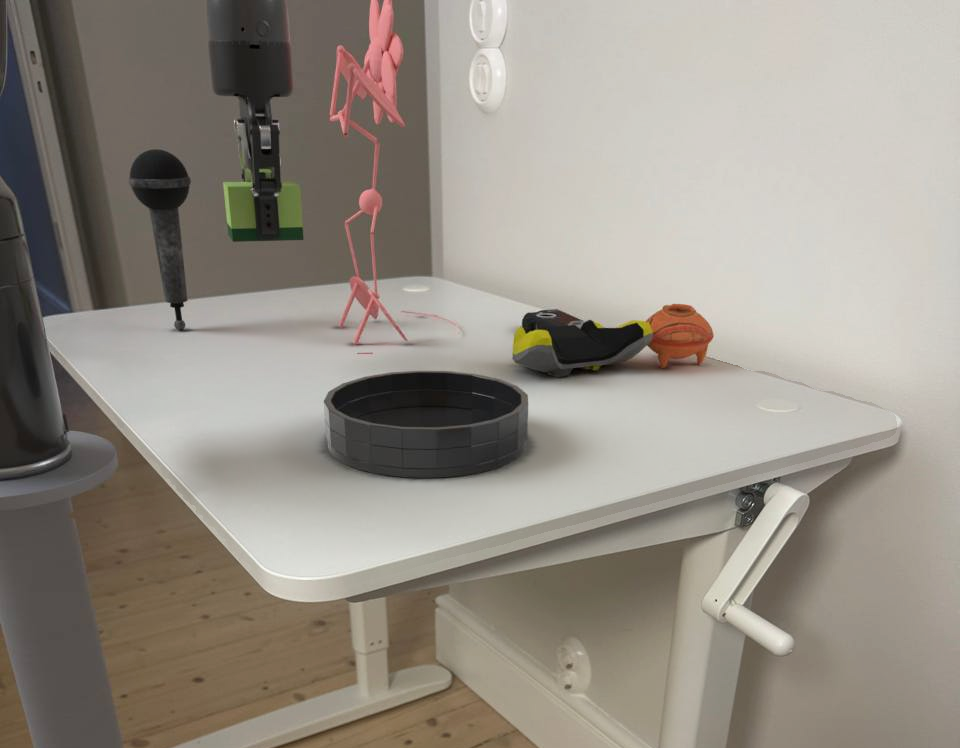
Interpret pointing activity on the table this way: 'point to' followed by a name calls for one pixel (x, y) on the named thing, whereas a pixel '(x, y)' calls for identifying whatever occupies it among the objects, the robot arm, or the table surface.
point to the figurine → (382, 89)
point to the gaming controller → (579, 346)
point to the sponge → (244, 212)
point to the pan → (426, 423)
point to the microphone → (164, 217)
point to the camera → (549, 319)
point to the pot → (679, 333)
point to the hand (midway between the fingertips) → (265, 234)
